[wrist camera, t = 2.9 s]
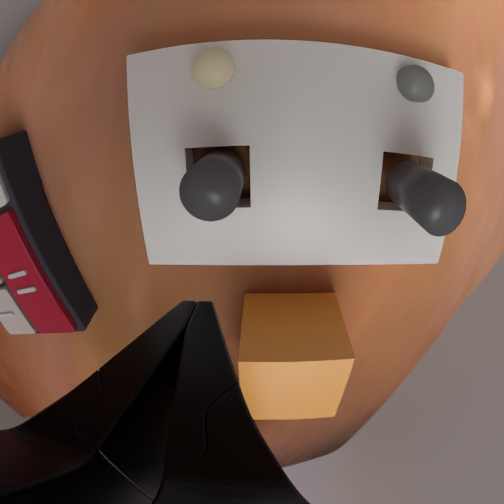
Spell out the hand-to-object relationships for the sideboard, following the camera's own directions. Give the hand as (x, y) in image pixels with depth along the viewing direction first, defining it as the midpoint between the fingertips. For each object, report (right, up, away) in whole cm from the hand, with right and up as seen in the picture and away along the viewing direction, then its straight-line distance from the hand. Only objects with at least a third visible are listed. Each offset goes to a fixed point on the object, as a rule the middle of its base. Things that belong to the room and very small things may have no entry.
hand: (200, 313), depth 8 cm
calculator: (-18, +3, +11) cm, 21 cm away
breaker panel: (+4, +7, +7) cm, 11 cm away
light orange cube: (+4, -4, +13) cm, 14 cm away
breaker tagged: (0, +6, +8) cm, 10 cm away
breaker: (+10, +5, +6) cm, 13 cm away
